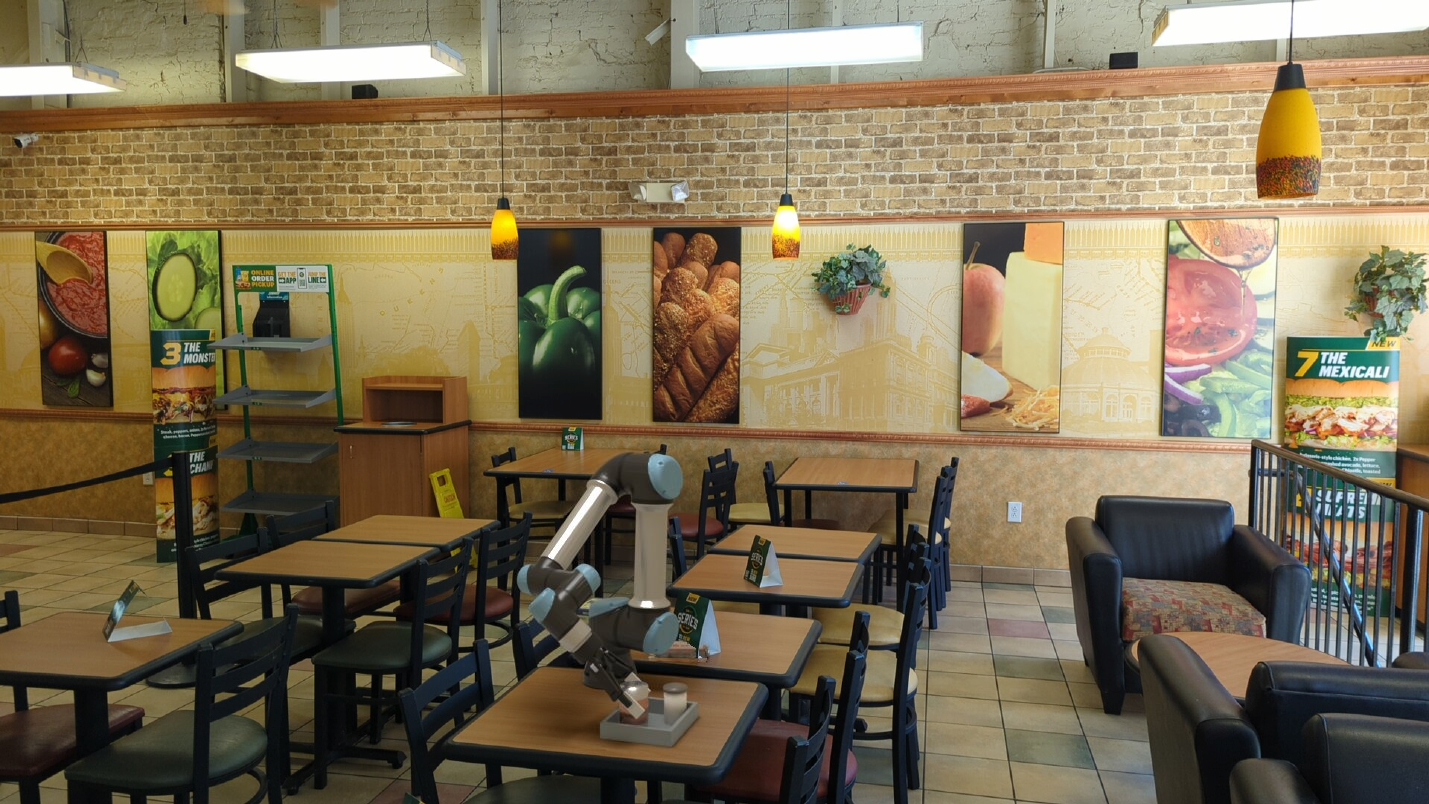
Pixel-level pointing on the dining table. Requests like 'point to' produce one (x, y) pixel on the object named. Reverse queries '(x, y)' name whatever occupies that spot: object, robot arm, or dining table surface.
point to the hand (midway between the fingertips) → (643, 704)
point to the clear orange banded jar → (640, 695)
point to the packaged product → (683, 651)
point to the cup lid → (675, 688)
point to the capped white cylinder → (674, 707)
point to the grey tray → (657, 728)
